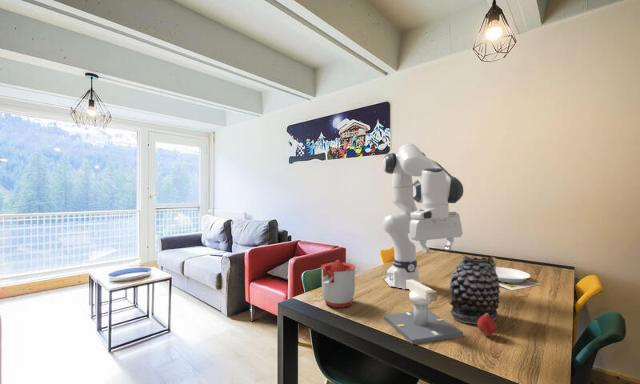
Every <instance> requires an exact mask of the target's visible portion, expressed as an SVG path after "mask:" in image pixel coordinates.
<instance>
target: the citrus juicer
mask: <svg viewBox="0 0 640 384" xmlns="http://www.w3.org/2000/svg"><path fill="white" fill-rule="evenodd" d="M320 268H321V291H322V295H323V300H324V302H325V304H326V305H327V304H328V305H330V306H329V307H331V306H333V307H332V308H337V307H342V308H346V307H345V306H347V307H349V306H350V304H352V302H353V301H354V295H355V290H356V276H355V275H356V274H355V271H356V270H355V269H356V266H355V264H352V263H348V262H342V261H341V260H340V259H336V260H335V261H334V262H327V263H324V264H321V266H320ZM328 305H327V306H328Z"/></svg>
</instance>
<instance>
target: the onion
mask: <svg viewBox="0 0 640 384" xmlns="http://www.w3.org/2000/svg"><path fill="white" fill-rule="evenodd" d="M495 321H496V320H493V319H492V318H491V317H490V316H489V315H488V313H486V314H484V315H483V316H481V317H480V318H479V319H478V322H477V324H476V326H477V328H478V330H479V331H480V332H481V333H482V334H483V335H484V336H485V337H490V336H492V335H493V334H495V333H496V331H497V328H498V327H497V326H498V325H497V323H496V322H495Z"/></svg>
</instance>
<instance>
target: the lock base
mask: <svg viewBox="0 0 640 384" xmlns="http://www.w3.org/2000/svg"><path fill="white" fill-rule="evenodd" d="M383 320H385V321H386V322H387V323H388V324H389V326H391V327H392V328H393V329H394V330H396V332H398V333H399V335H401V336H402V337H403V338H405V340H407V341H408V343H410V344H411V345H418V344H423V343H430V342H436V341H442V340H448V339H456V338H460V337H464V331H462V330H461V329H460V328H458V327H457V326H455V325H453V324H451V323H450V322H448V321H447V320H445V319H444V318H442V317H440V316H439V315H437V314H436V313H434V312H432V311H431V310H429V304H428V305H419V304H415V303H413V311H406V312H400V313H389V314H384V315H383Z"/></svg>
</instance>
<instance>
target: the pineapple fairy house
mask: <svg viewBox="0 0 640 384" xmlns="http://www.w3.org/2000/svg"><path fill="white" fill-rule="evenodd" d="M462 258H463V259H462V261H460V262H459V263H458V265H456V269H455V270H454V271H453V273H452V274H453V275H452V276H450V282H449V284H450V285H449V287H448V289H450V290H451V295H452V297H451V299H449V300H448V304H449V305H450V306H452V308H451V309H450V313H451V316H452V317H453V319H455V320H457V321H459V322H461V323H467V324H474V325H477V322H478V319H479V318H480V317H481V316H483V315H484V314H486V313H488V315H489V316H490V317H491V318H492V319H493V320H494V321H496V319H497V317H498V311H497V310H498V308H499V304H500V301H499V300H500V299H501V298H500V293H501V290H500V288H501V285H500V282H499V279H498V275H497V274H496V267H497V263H498V261H499V260H498V259H497V258H496V257H494V256H492V255H491V256H489V257H488V258H487V257H484V256H481V258H478V257H474V255H473V256H472V258H471V257H468V256H467V255H464V256H463V257H462Z"/></svg>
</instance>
